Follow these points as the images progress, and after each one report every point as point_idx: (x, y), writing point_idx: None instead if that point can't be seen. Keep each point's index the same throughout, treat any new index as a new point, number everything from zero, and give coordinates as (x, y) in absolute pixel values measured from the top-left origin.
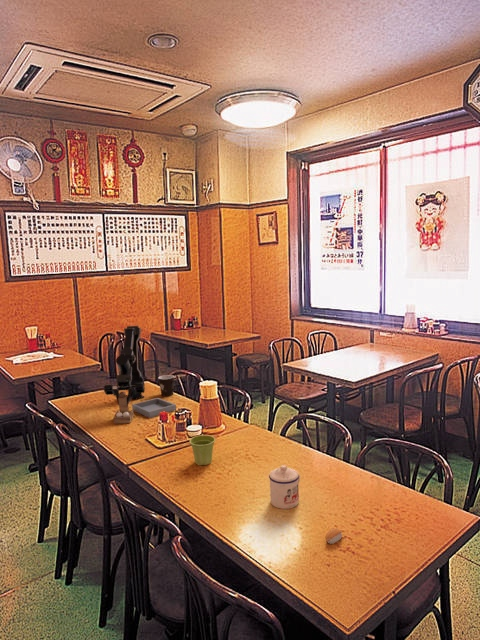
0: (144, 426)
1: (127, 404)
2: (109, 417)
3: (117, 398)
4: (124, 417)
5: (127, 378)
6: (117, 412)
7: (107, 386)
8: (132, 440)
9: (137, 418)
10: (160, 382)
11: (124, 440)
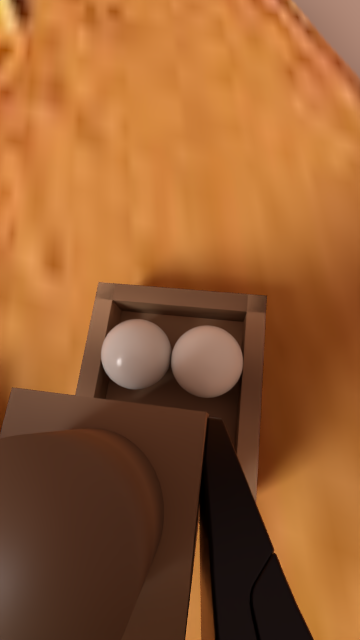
0: (15, 211)
1: None
2: (338, 544)
3: (241, 520)
4: (150, 286)
5: None
6: (240, 454)
7: None
8: (100, 7)
9: None
10: None
11: (146, 12)
